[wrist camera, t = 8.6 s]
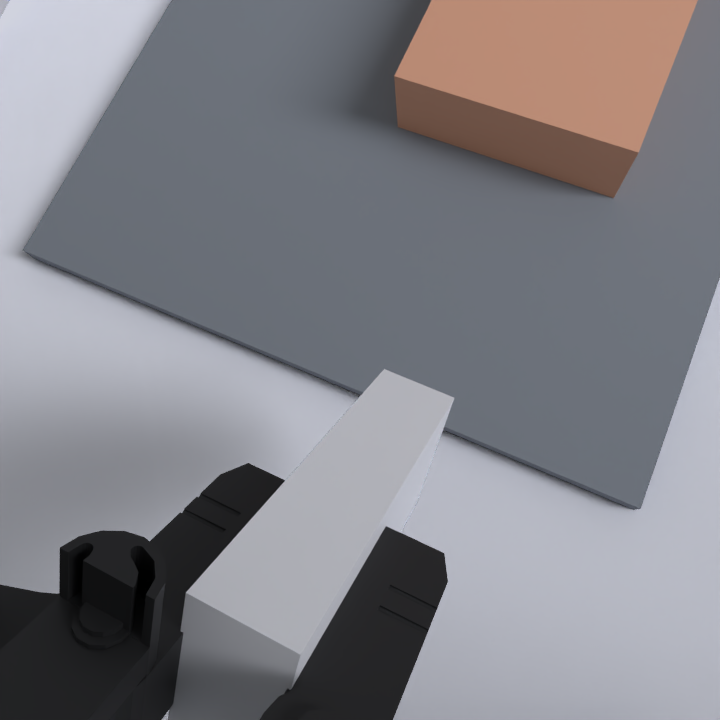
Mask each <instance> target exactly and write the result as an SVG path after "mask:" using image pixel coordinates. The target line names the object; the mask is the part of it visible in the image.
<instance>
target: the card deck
mask: <svg viewBox="0 0 720 720" xmlns="http://www.w3.org/2000/svg"><path fill="white" fill-rule="evenodd" d="M697 1H698V0H431V2H430V5H429V7H428V9H427V11H426V13H425V15H424V17H423V19H422V21H421V23H420V25H419V27H418V29H417V31H416V33H415V35H414V37H413V39H412V41H411V43H410V45H409V47H408V49H407V51H406V53H405V55H404V57H403V59H402V61H401V63H400V65H399V67H398V69H397V71H396V73H395V75H394V80H395V95H396V109H397V123H398V127H399V128H402V129H405V130H408V131H411V132H414V133H417V134H420V135H423V136H427V137H430V138H433V139H436V140H439V141H442V142H445V143H448V144H451V145H454V146H457V147H460V148H463V149H466V150H469V151H472V152H475V153H478V154H481V155H484V156H487V157H490V158H493V159H496V160H499V161H503V162H506V163H509V164H512V165H515V166H518V167H521V168H524V169H527V170H530V171H533V172H536V173H539V174H542V175H545V176H548V177H551V178H554V179H557V180H560V181H563V182H566V183H569V184H572V185H575V186H579V187H582V188H585V189H588V190H591V191H594V192H597V193H600V194H603V195H606V196H609V197H612V198H614V197H615V195H616V193H617V191H618V189H619V188H620V186H621V184H622V182H623V180H624V178H625V177H626V175H627V173H628V171H629V169H630V168H631V166H632V164H633V162H634V160H635V158H636V157H637V155H638V153H639V150H640V148H641V145H642V143H643V140H644V138H645V135H646V132H647V130H648V127H649V125H650V122H651V120H652V117H653V114H654V112H655V109H656V107H657V104H658V102H659V99H660V96H661V94H662V91H663V89H664V86H665V83H666V81H667V78H668V76H669V73H670V71H671V68H672V65H673V63H674V60H675V58H676V55H677V53H678V50H679V47H680V45H681V42H682V40H683V37H684V35H685V32H686V29H687V27H688V24H689V22H690V19H691V17H692V14H693V11H694V9H695V6H696V4H697Z"/></svg>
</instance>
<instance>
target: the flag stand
mask: <svg viewBox="0 0 720 720" xmlns="http://www.w3.org/2000/svg"><path fill="white" fill-rule="evenodd" d="M9 1H10V0H0V17H1V16H2V14H3V12H4V10H5V8H6V6H7V5H8V3H9Z"/></svg>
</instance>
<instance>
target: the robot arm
mask: <svg viewBox="0 0 720 720" xmlns="http://www.w3.org/2000/svg"><path fill="white" fill-rule="evenodd" d="M453 401H454V397H451V396H449V395H446V394H444V393H442V392H439V391H437V390H434V389H432V388H429V387H427V386H424V385H422V384H420V383H417V382H415V381H412V380H410V379H407V378H405V377H403V376H400V375H398V374H395V373H393V372H390V371H388V370H385V369H384V370H383V371H382V372H381V373H380V374H379V375H378V377H377V378H376V379H375V380H374V381H373V382H372V383H371V384H370V386H369V387H368V388H367V389H366V390H365V391H364V392H363V393H362V395H361V396H360V397H359V398H358V399H357V400H356V401H355V402H354V404H353V405H352V406H351V407H350V408H349V409H348V410H347V412H346V413H345V414H344V415H343V416H342V417H341V418H340V419H339V421H338V422H337V423H336V424H335V425H334V426H333V427H332V428H331V430H330V431H329V432H328V433H327V434H326V435H325V436H324V437H323V439H322V440H321V441H320V442H319V443H318V444H317V445H316V446H315V448H314V449H313V450H312V451H311V452H310V453H309V454H308V456H307V457H306V458H305V459H304V460H303V461H302V462H301V463H300V465H299V466H298V467H297V468H296V469H295V470H294V471H293V472H292V474H291V475H290V476H289V477H288V478H287V479H286V480H283V479H281V478H279V477H277V476H274V475H272V474H270V473H268V472H266V471H264V470H262V469H260V468H258V467H255V466H253V465H251V464H249V463H248V464H245V465H243V466H240V467H238V468H235V469H233V470H230V471H228V472H225V473H223V474H221V475H220V476H219V477H217V478H216V479H215V480H214V481H213V482H212V483H211V484H210V485H209V486H208V487H207V488H206V489H205V490H204V491H203V492H202V493H201V495H200V496H199V498H198V497H196V498H195V499H194V500H193V501H192V502H191V503H190V504H189V505H188V506H187V507H186V508H185V509H184V511H183V513H179V514H178V515H177V516H176V517H175V518H174V519H173V520H172V521H171V522H170V523H169V524H168V525H167V526H166V527H165V528H164V529H162V530H161V531H160V532H159V533H158V534H157V535H156V536H155V537H154V538H153V539H152V540H151V541H150V542H149V541H148V540H147V539H146V538H144V537H141V536H138V535H135V534H132V533H129V532H126V531H99V532H95V533H91V534H87V535H83V536H79V537H77V538H76V539H74V540H72V541H71V542H69V543H67V544H65V545H64V546H62V547H60V594H52V593H41V592H35V591H30V590H25V589H19V588H14V587H9V586H4V585H0V720H161V719H162V718H163V717H164V715H165V714H166V713H167V711H168V710H169V716H168V720H393V718H394V715H395V713H396V710H397V708H398V705H399V703H400V700H401V698H402V695H403V693H404V690H405V688H406V685H407V683H408V680H409V678H410V675H411V673H412V670H413V668H414V665H415V663H416V660H417V658H418V655H419V652H420V650H421V647H422V645H423V642H424V640H425V637H426V635H427V632H428V630H429V627H430V625H431V622H432V620H433V617H434V615H435V612H436V610H437V607H438V605H439V602H440V600H441V597H442V595H443V592H444V590H445V587H446V585H447V582H448V580H447V572H446V564H445V556H444V553H442V552H440V551H438V550H436V549H434V548H432V547H429V546H427V545H425V544H423V543H421V542H419V541H417V540H415V539H412V538H410V537H408V536H406V535H404V534H402V533H401V532H402V530H403V528H404V526H405V524H406V523H407V521H408V519H409V517H410V515H411V513H412V511H413V510H414V508H415V506H416V504H417V502H418V499H419V496H420V493H421V491H422V488H423V485H424V482H425V479H426V477H427V474H428V471H429V468H430V465H431V462H432V460H433V457H434V454H435V451H436V448H437V446H438V443H439V440H440V437H441V434H442V431H443V429H444V426H445V423H446V420H447V417H448V415H449V412H450V409H451V406H452V403H453Z"/></svg>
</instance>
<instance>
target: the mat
mask: <svg viewBox="0 0 720 720" xmlns="http://www.w3.org/2000/svg"><path fill="white" fill-rule="evenodd" d="M430 2H431V0H172V1H171V3H170V4H169V6H168V8H167V9H166V11H165V13H164V15H163V16H162V18H161V20H160V21H159V23H158V25H157V26H156V28H155V30H154V31H153V33H152V35H151V36H150V38H149V40H148V41H147V43H146V45H145V46H144V48H143V50H142V51H141V53H140V55H139V56H138V58H137V60H136V61H135V63H134V65H133V67H132V68H131V70H130V72H129V73H128V75H127V77H126V78H125V80H124V82H123V83H122V85H121V87H120V88H119V90H118V92H117V93H116V95H115V97H114V98H113V100H112V102H111V103H110V105H109V107H108V108H107V110H106V112H105V114H104V115H103V117H102V119H101V120H100V122H99V124H98V125H97V127H96V129H95V130H94V132H93V134H92V135H91V137H90V139H89V140H88V142H87V144H86V145H85V147H84V149H83V150H82V152H81V154H80V155H79V157H78V159H77V160H76V162H75V164H74V166H73V167H72V169H71V171H70V172H69V174H68V176H67V177H66V179H65V181H64V182H63V184H62V186H61V187H60V189H59V191H58V192H57V194H56V196H55V197H54V199H53V201H52V202H51V204H50V206H49V207H48V209H47V211H46V212H45V214H44V216H43V218H42V219H41V221H40V223H39V224H38V226H37V228H36V229H35V231H34V233H33V234H32V236H31V238H30V239H29V241H28V243H27V244H26V246H25V248H24V249H23V251H25V252H26V253H27V254H29V255H30V256H32V257H33V258H35V259H37V260H40V261H42V262H44V263H47V264H49V265H52V266H54V267H56V268H59V269H61V270H63V271H66V272H68V273H71V274H73V275H75V276H78V277H80V278H83V279H85V280H87V281H90V282H92V283H94V284H97V285H99V286H102V287H104V288H106V289H109V290H111V291H114V292H116V293H118V294H121V295H123V296H125V297H128V298H130V299H133V300H135V301H137V302H140V303H142V304H145V305H147V306H149V307H152V308H154V309H156V310H159V311H161V312H164V313H166V314H168V315H171V316H173V317H176V318H178V319H180V320H183V321H185V322H187V323H190V324H192V325H195V326H197V327H199V328H202V329H204V330H206V331H209V332H211V333H214V334H216V335H218V336H221V337H223V338H226V339H228V340H230V341H233V342H235V343H237V344H240V345H242V346H245V347H247V348H249V349H252V350H254V351H257V352H259V353H261V354H264V355H266V356H268V357H271V358H273V359H276V360H278V361H280V362H283V363H285V364H288V365H290V366H292V367H295V368H297V369H299V370H302V371H304V372H307V373H309V374H311V375H314V376H316V377H319V378H321V379H323V380H326V381H328V382H330V383H333V384H335V385H338V386H340V387H342V388H345V389H347V390H349V391H352V392H354V393H357V394H359V395H362V393H363V392H364V391H365V390H366V389H367V388H368V387H369V386H370V384H371V383H372V382H373V381H374V380H375V379H376V378H377V377H378V375H379V374H380V373H381V372H382V371H383V370H384V369H385V370H388V371H390V372H393V373H395V374H398V375H400V376H403V377H405V378H407V379H410V380H412V381H415V382H417V383H420V384H422V385H424V386H427V387H429V388H432V389H434V390H437V391H439V392H442V393H444V394H446V395H449V396H451V397H454V401H453V403H452V406H451V409H450V412H449V415H448V417H447V420H446V423H445V426H444V429H443V430H445V431H447V432H450V433H452V434H454V435H457V436H459V437H462V438H464V439H466V440H469V441H471V442H473V443H476V444H478V445H481V446H483V447H485V448H488V449H490V450H492V451H495V452H497V453H500V454H502V455H504V456H507V457H509V458H512V459H514V460H516V461H519V462H521V463H523V464H526V465H528V466H531V467H533V468H535V469H538V470H540V471H543V472H545V473H547V474H550V475H552V476H554V477H557V478H559V479H562V480H564V481H566V482H569V483H571V484H574V485H576V486H578V487H581V488H583V489H585V490H588V491H590V492H593V493H595V494H597V495H600V496H602V497H605V498H607V499H609V500H612V501H614V502H616V503H619V504H621V505H624V506H626V507H628V508H631V509H633V510H635V509H641V506H642V503H643V500H644V497H645V494H646V491H647V488H648V485H649V482H650V479H651V476H652V473H653V471H654V468H655V465H656V462H657V459H658V456H659V453H660V450H661V447H662V444H663V441H664V438H665V435H666V433H667V430H668V427H669V424H670V421H671V418H672V415H673V412H674V409H675V406H676V403H677V400H678V397H679V395H680V392H681V389H682V386H683V383H684V380H685V377H686V374H687V371H688V368H689V365H690V362H691V359H692V357H693V354H694V351H695V348H696V345H697V342H698V339H699V336H700V333H701V330H702V327H703V324H704V321H705V319H706V316H707V313H708V310H709V307H710V304H711V301H712V298H713V295H714V292H715V289H716V286H717V284H718V281H719V278H720V0H698V1H697V4H696V6H695V9H694V11H693V14H692V17H691V19H690V22H689V24H688V27H687V29H686V32H685V35H684V37H683V40H682V42H681V45H680V47H679V50H678V53H677V55H676V58H675V60H674V63H673V65H672V68H671V71H670V73H669V76H668V78H667V81H666V83H665V86H664V89H663V91H662V94H661V96H660V99H659V102H658V104H657V107H656V109H655V112H654V114H653V117H652V120H651V122H650V125H649V127H648V130H647V132H646V135H645V138H644V140H643V143H642V145H641V148H640V150H639V153H638V155H637V157H636V158H635V160H634V162H633V164H632V166H631V168H630V169H629V171H628V173H627V175H626V177H625V178H624V180H623V182H622V184H621V186H620V188H619V189H618V191H617V193H616V195H615V197H614V198H612V197H609V196H606V195H603V194H600V193H597V192H594V191H591V190H588V189H585V188H582V187H579V186H575V185H572V184H569V183H566V182H563V181H560V180H557V179H554V178H551V177H548V176H545V175H542V174H539V173H536V172H533V171H530V170H527V169H524V168H521V167H518V166H515V165H512V164H509V163H506V162H503V161H499V160H496V159H493V158H490V157H487V156H484V155H481V154H478V153H475V152H472V151H469V150H466V149H463V148H460V147H457V146H454V145H451V144H448V143H445V142H442V141H439V140H436V139H433V138H430V137H427V136H423V135H420V134H417V133H414V132H411V131H408V130H405V129H402V128H399V127H398V123H397V109H396V95H395V80H394V75H395V73H396V71H397V69H398V67H399V65H400V63H401V61H402V59H403V57H404V55H405V53H406V51H407V49H408V47H409V45H410V43H411V41H412V39H413V37H414V35H415V33H416V31H417V29H418V27H419V25H420V23H421V21H422V19H423V17H424V15H425V13H426V11H427V9H428V7H429V5H430Z"/></svg>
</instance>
